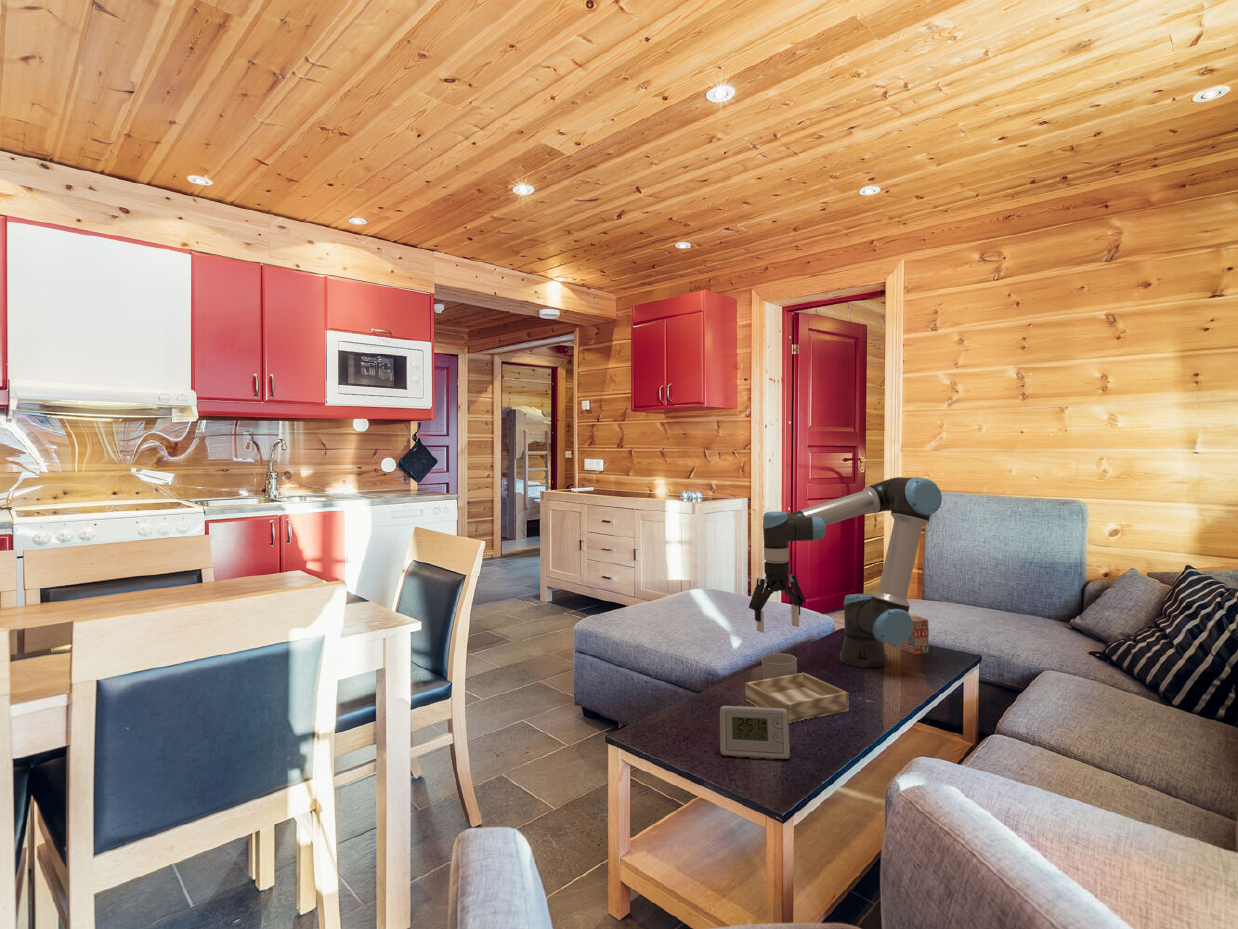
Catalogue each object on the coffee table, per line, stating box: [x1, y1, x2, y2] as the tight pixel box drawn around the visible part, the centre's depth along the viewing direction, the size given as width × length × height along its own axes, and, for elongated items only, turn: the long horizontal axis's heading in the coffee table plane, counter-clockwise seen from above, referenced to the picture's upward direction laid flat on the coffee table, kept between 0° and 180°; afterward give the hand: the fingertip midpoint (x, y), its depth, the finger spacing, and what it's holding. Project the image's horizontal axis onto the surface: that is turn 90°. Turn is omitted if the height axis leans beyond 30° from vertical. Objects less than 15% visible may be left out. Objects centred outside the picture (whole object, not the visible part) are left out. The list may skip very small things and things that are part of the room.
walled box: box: [744, 672, 850, 724], centre depth 180 cm, size 21×19×5 cm
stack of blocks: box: [892, 612, 930, 656], centre depth 236 cm, size 21×6×12 cm, turn 15°
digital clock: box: [719, 705, 791, 760], centre depth 151 cm, size 16×9×11 cm, turn 68°
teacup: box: [760, 651, 798, 679], centre depth 200 cm, size 14×11×8 cm
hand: (778, 628), depth 200 cm, fingers open, 13 cm apart
